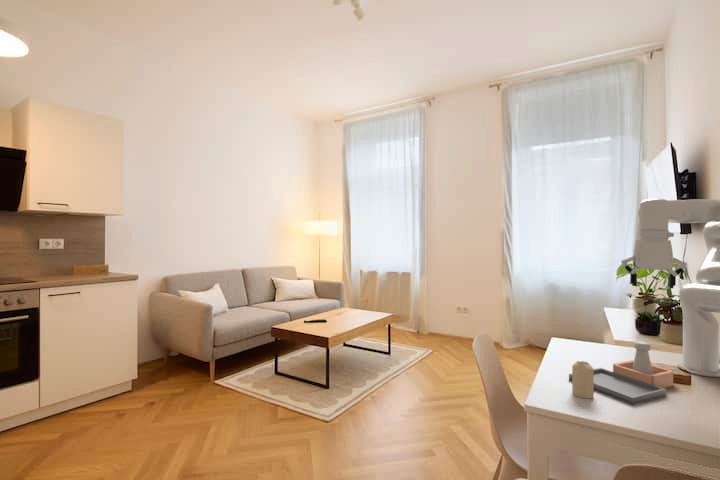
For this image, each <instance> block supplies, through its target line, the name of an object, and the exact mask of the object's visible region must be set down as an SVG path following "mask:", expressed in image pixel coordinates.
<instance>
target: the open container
mask: <svg viewBox="0 0 720 480" xmlns="http://www.w3.org/2000/svg"><path fill="white" fill-rule="evenodd" d="M633 363H634V360H632V359H631V360H626V361H621V362H616V363H613V364H612V370H613V371H612V372H615V373H618V374H621V375H624V376H627V377H630V378H633V379H636V380H639V381H642V382H645V383H648V384H652V385H655V386H658V387H661V388H664V389H667V388H670V387H673V386H674V370H672V369H668V368H664V367H661V366H658V365H654V364H651V367H652V371H653V374H652V375H648V374H645V373H642V372H639V371H635V370H632V368H633Z"/></svg>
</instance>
